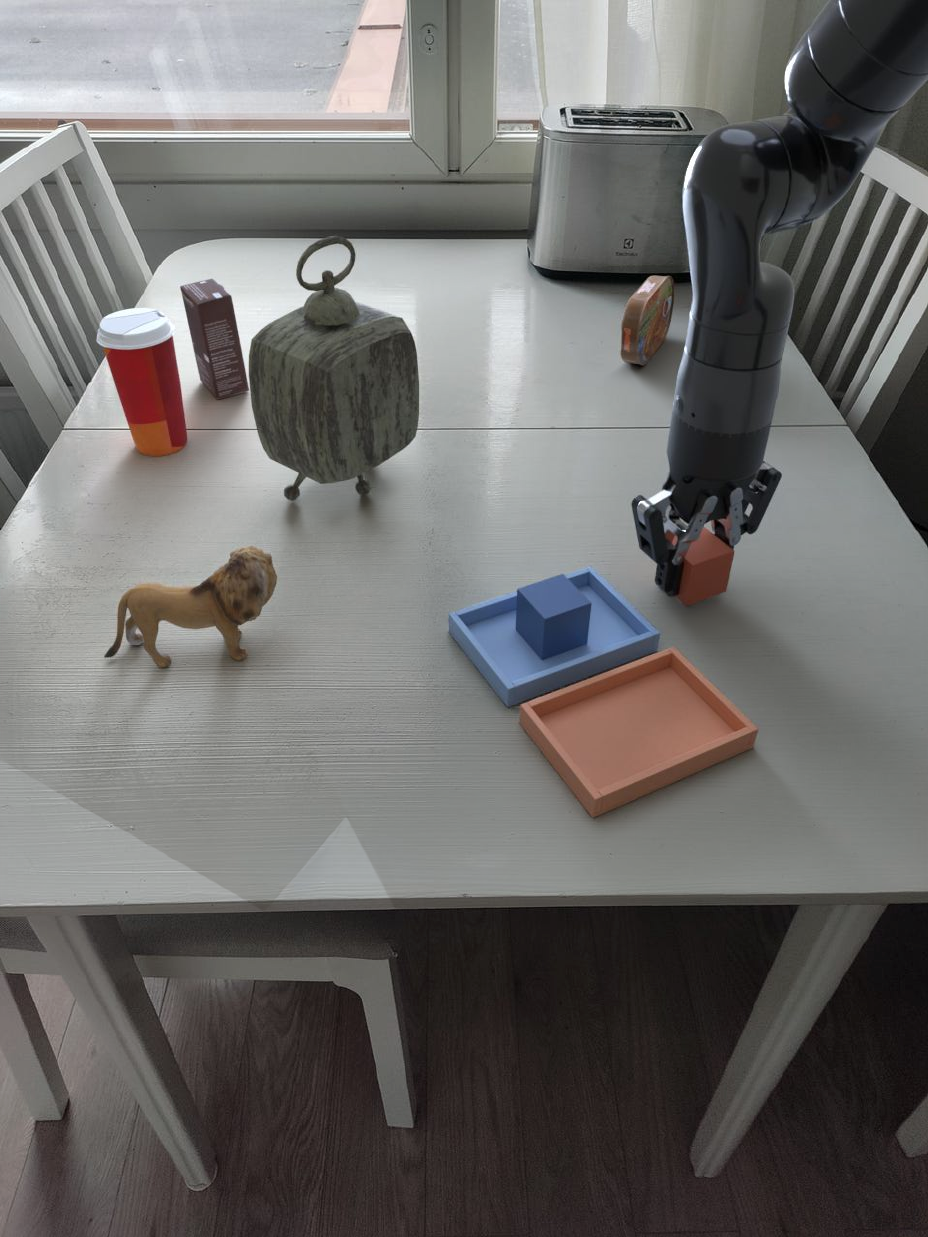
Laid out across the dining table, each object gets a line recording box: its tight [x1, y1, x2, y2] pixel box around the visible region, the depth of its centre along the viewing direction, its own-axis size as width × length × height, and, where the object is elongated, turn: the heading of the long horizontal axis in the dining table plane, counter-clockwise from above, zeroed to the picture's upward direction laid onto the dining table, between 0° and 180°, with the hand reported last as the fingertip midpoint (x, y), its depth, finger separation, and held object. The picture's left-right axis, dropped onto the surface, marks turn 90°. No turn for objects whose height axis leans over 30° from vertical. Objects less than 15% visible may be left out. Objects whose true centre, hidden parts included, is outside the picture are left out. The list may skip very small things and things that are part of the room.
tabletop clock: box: [248, 235, 420, 501], centre depth 90 cm, size 14×9×25 cm, turn 141°
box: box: [179, 278, 250, 400], centre depth 112 cm, size 6×4×12 cm
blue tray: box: [448, 566, 661, 708], centre depth 79 cm, size 14×10×2 cm
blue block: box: [516, 573, 592, 660], centre depth 78 cm, size 4×4×4 cm
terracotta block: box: [672, 526, 736, 607], centre depth 83 cm, size 4×4×4 cm
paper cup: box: [95, 307, 188, 457], centre depth 101 cm, size 8×8×14 cm
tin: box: [619, 275, 675, 367], centre depth 121 cm, size 15×3×8 cm, turn 154°
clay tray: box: [518, 646, 759, 819], centre depth 71 cm, size 14×10×2 cm
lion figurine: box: [103, 545, 278, 668], centre depth 77 cm, size 15×5×9 cm, turn 104°
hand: (691, 582), depth 84 cm, fingers closed on terracotta block, 4 cm apart
